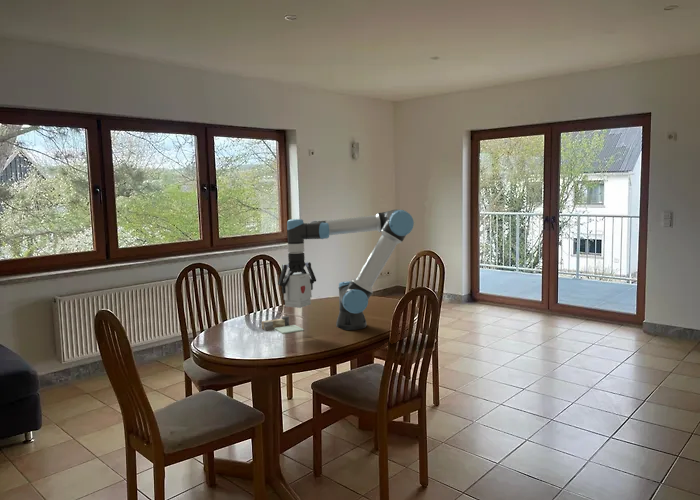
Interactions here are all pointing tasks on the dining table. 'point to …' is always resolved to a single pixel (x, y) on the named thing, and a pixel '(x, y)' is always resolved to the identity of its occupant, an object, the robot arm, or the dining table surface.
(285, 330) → the seat pad
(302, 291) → the supplement box
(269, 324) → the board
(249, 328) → the dining table surface
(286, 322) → the leg bar
